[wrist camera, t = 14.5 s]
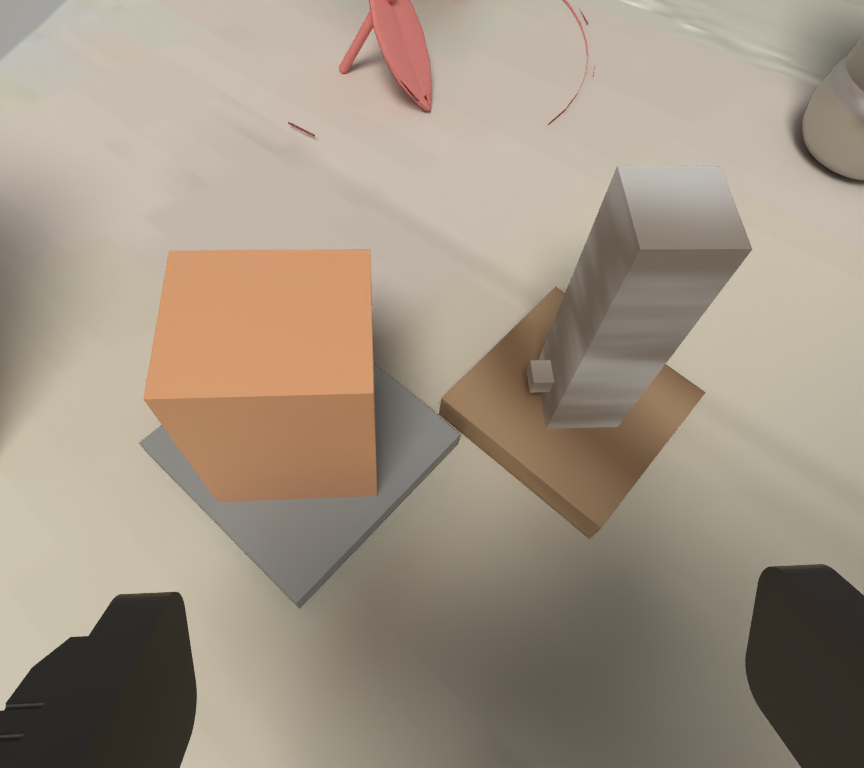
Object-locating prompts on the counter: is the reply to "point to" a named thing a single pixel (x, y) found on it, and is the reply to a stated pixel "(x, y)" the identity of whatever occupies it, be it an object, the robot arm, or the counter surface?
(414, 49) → the figurine
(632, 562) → the counter surface
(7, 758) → the robot arm
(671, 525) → the counter surface
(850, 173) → the plastic bottle
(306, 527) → the mat
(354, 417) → the tall orange box
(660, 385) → the post stand
